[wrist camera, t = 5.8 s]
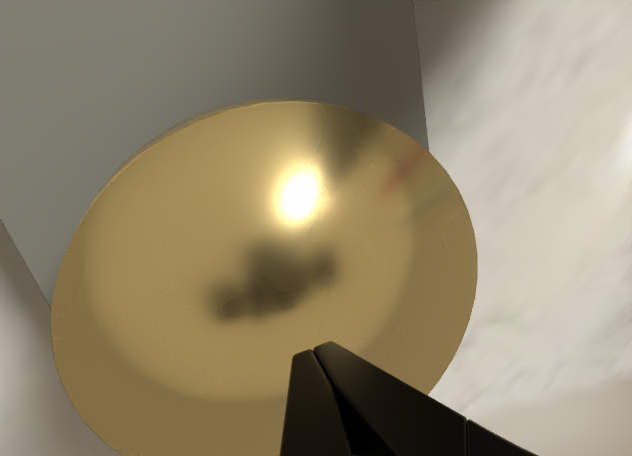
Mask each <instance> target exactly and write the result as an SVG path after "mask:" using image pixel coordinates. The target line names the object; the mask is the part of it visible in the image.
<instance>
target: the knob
mask: <svg viewBox="0 0 632 456" xmlns="http://www.w3.org/2000/svg"><path fill="white" fill-rule="evenodd" d="M476 284H477V248H476V241H475V234H474V230H473V226H472V223H471V219H470V216H469V212H468V210H467V207H466V205H465V203H464V201H463V199H462V196H461V194H460V192H459V190H458V188H457V187H456V185H455V184H454V182H453V181H452V179H451V178H450V176H449V175H448V173H447V171H446V170H445V169H444V168H443V167H442V166H441V164H440V163H439V162H438V161H437V160H436V159H435V158H434V157H433V156H432V154H431V153H430V152H429V151H427V150H426V149H425V148H424V147H422V146H421V145H420V144H419V143H418V142H416V141H415V140H414V139H413V138H411V137H410V136H409V135H407V134H405V133H404V132H402V131H400V130H398V129H397V128H395V127H393V126H392V125H390V124H388V123H386V122H384V121H382V120H379V119H376V118H374V117H371V116H369V115H366V114H364V113H361V112H358V111H355V110H351V109H348V108H344V107H341V106H337V105H332V104H328V103H324V102H320V101H315V100H308V99H296V98H265V99H253V100H248V101H242V102H237V103H232V104H227V105H223V106H220V107H217V108H214V109H211V110H208V111H205V112H202V113H199V114H196V115H194V116H192V117H190V118H188V119H186V120H184V121H182V122H180V123H178V124H176V125H174V126H172V127H170V128H168V129H166V130H165V131H163V132H162V133H160V134H159V135H158V136H156V137H155V138H153V139H152V140H150V141H149V142H147V143H146V144H144V145H143V146H141V147H140V148H139V149H138V150H137V151H136V152H135V153H134V154H133V155H131V156H130V157H129V158H128V159H127V160H126V161H125V162H124V163H123V164H121V165H120V166H119V167H118V168H117V169H116V171H115V172H114V173H113V174H112V175H111V177H110V178H109V179H108V180H107V182H106V183H105V184H104V185H103V186H102V188H101V189H100V190H99V191H98V193H97V194H96V196H95V198H94V199H93V201H92V203H91V204H90V206H89V208H88V209H87V211H86V213H85V214H84V216H83V218H82V219H81V221H80V223H79V225H78V227H77V229H76V231H75V232H74V234H73V236H72V238H71V240H70V243H69V245H68V248H67V250H66V253H65V255H64V257H63V260H62V262H61V265H60V267H59V271H58V275H57V279H56V284H55V288H54V292H53V297H52V308H51V325H50V329H51V338H52V347H53V356H54V359H55V363H56V366H57V370H58V373H59V376H60V380H61V383H62V385H63V387H64V389H65V391H66V393H67V395H68V397H69V399H70V401H71V403H72V405H73V406H74V408H75V409H76V411H77V412H78V413H79V415H80V416H81V417H82V419H83V420H84V422H85V423H86V424H87V426H88V427H89V428H90V429H91V430H92V431H93V432H94V433H95V434H96V435H97V436H98V437H99V438H100V439H101V440H102V441H103V442H104V443H105V444H107V445H108V446H109V447H111V448H112V449H113V450H115V451H116V452H118V453H119V454H120V455H122V456H279V455H280V447H281V440H282V432H283V424H284V417H285V409H286V401H287V393H288V386H289V378H290V370H291V363H292V357H293V356H294V355H295V354H297V353H300V352H302V351H305V350H308V349H311V350H313V349H314V347H316V346H318V345H321V344H323V343H326V342H328V341H333V342H335V343H337V344H338V345H340V346H342V347H344V348H345V349H347V350H349V351H351V352H352V353H354V354H356V355H358V356H359V357H361V358H363V359H365V360H366V361H368V362H370V363H372V364H373V365H375V366H377V367H379V368H380V369H382V370H384V371H386V372H387V373H389V374H391V375H393V376H394V377H396V378H398V379H400V380H401V381H403V382H405V383H407V384H408V385H410V386H412V387H414V388H415V389H417V390H419V391H421V392H422V393H424V394H426V395H428V394H429V393H430V392H431V390H432V389H433V388H434V386H435V385H436V384H437V383H438V381H439V380H440V379H441V377H442V375H443V374H444V372H445V371H446V369H447V367H448V366H449V364H450V363H451V361H452V359H453V357H454V355H455V353H456V351H457V349H458V347H459V345H460V343H461V341H462V339H463V336H464V333H465V331H466V328H467V325H468V322H469V320H470V316H471V312H472V308H473V304H474V300H475V293H476Z"/></svg>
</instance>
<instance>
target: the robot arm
mask: <svg viewBox="0 0 632 456" xmlns="http://www.w3.org/2000/svg"><path fill="white" fill-rule="evenodd" d="M279 456H538V455H536V454H534V453H532V452H530V451H528V450H525V449H523V448H521V447H519V446H517V445H515V444H513V443H512V442H510V441H508V440H506V439H504V438H502V437H500V436H498V435H497V434H495V433H493V432H491V431H489V430H487V429H486V428H484V427H482V426H480V425H479V424H477V423H475V422H473V421H472V420H467V419H466V417H464V416H463V415H461V414H459V413H457V412H456V411H454V410H452V409H450V408H449V407H447V406H445V405H443V404H442V403H440V402H438V401H436V400H435V399H433V398H431V397H429V396H428V395H426V394H424V393H422V392H421V391H419V390H417V389H415V388H414V387H412V386H410V385H408V384H407V383H405V382H403V381H401V380H400V379H398V378H396V377H394V376H393V375H391V374H389V373H387V372H386V371H384V370H382V369H380V368H379V367H377V366H375V365H373V364H372V363H370V362H368V361H366V360H365V359H363V358H361V357H359V356H358V355H356V354H354V353H352V352H351V351H349V350H347V349H345V348H344V347H342V346H340V345H338V344H337V343H335V342H333V341H328V342H326V343H323V344H321V345H318V346H316V347H314V349H313V350H311V349H308V350H305V351H302V352H300V353H297V354H295V355H294V356H293V357H292V363H291V370H290V378H289V386H288V393H287V401H286V409H285V417H284V424H283V432H282V440H281V447H280V455H279Z"/></svg>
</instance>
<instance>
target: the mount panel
mask: <svg viewBox="0 0 632 456" xmlns="http://www.w3.org/2000/svg"><path fill="white" fill-rule="evenodd" d="M265 98H296V99H308V100H315V101H320V102H324V103H328V104H332V105H337V106H341V107H344V108H348V109H351V110H355V111H358V112H361V113H364V114H366V115H369V116H371V117H374V118H376V119H379V120H382V121H384V122H386V123H388V124H390V125H392V126H393V127H395V128H397V129H398V130H400V131H402V132H404V133H405V134H407V135H409V136H410V137H411V138H413V139H414V140H415V141H416V142H418V143H419V144H420V145H421V146H422V147H424V148H425V149H426V150H427V151H429V147H428V138H427V128H426V119H425V110H424V101H423V92H422V82H421V73H420V64H419V55H418V45H417V36H416V27H415V18H414V9H413V0H0V219H1V221H2V223H3V224H4V226H5V228H6V230H7V231H8V233H9V235H10V237H11V238H12V240H13V242H14V244H15V246H16V247H17V249H18V251H19V253H20V254H21V256H22V258H23V260H24V262H25V263H26V265H27V267H28V269H29V270H30V272H31V274H32V276H33V278H34V279H35V281H36V283H37V285H38V286H39V288H40V290H41V292H42V294H43V295H44V297H45V299H46V301H47V302H48V304H49V306H50V308H52V297H53V292H54V288H55V284H56V279H57V275H58V271H59V267H60V265H61V262H62V260H63V257H64V255H65V253H66V250H67V248H68V245H69V243H70V240H71V238H72V236H73V234H74V232H75V231H76V229H77V227H78V225H79V223H80V221H81V219H82V218H83V216H84V214H85V213H86V211H87V209H88V208H89V206H90V204H91V203H92V201H93V199H94V198H95V196H96V194H97V193H98V191H99V190H100V189H101V188H102V186H103V185H104V184H105V183H106V182H107V180H108V179H109V178H110V177H111V175H112V174H113V173H114V172H115V171H116V169H117V168H118V167H119V166H120V165H121V164H123V163H124V162H125V161H126V160H127V159H128V158H129V157H130V156H131V155H133V154H134V153H135V152H136V151H137V150H138V149H139V148H140V147H141V146H143V145H144V144H146V143H147V142H149V141H150V140H152V139H153V138H155V137H156V136H158V135H159V134H160V133H162V132H163V131H165V130H166V129H168V128H170V127H172V126H174V125H176V124H178V123H180V122H182V121H184V120H186V119H188V118H190V117H192V116H194V115H196V114H199V113H202V112H205V111H208V110H211V109H214V108H217V107H220V106H223V105H227V104H232V103H237V102H242V101H248V100H253V99H265Z"/></svg>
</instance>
